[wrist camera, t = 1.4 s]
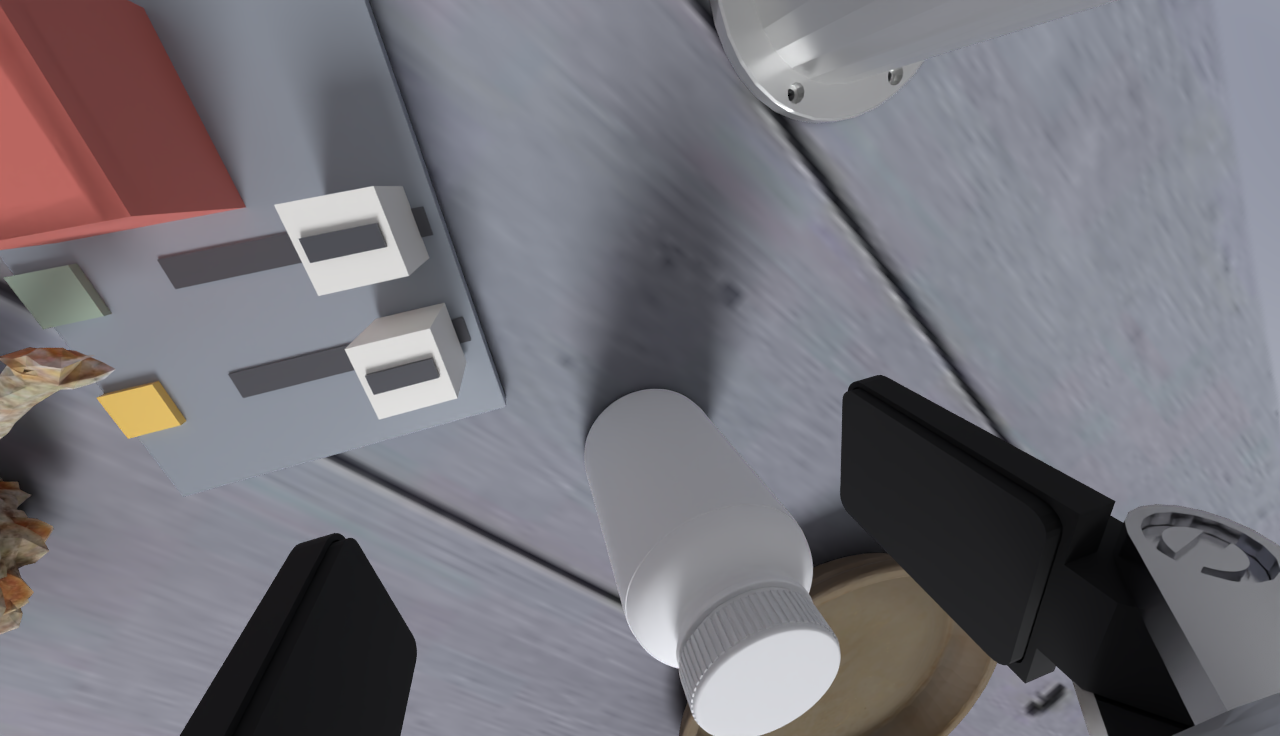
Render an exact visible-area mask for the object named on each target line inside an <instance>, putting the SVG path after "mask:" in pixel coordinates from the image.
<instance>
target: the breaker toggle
mask: <svg viewBox="0 0 1280 736" xmlns="http://www.w3.org/2000/svg"><path fill="white" fill-rule="evenodd" d="M345 351H346V353H347V355H348V357H349V359H350V362H351V364H352V366H353V368H354V370H355V372H356V374H357V376H358V378H359V380H360V382H361V384H362V386H363V388H364V390H365V392H366V394H367V396H368V398H369V400H370V402H371V404H372V406H373V408H374V411H375V413H376V415H377V417H378V419H379V420H380V419H383V418H387V417H391V416H394V415H398V414H402V413H405V412H409V411H413V410H416V409H420V408H424V407H428V406H431V405H435V404H439V403H442V402H446V401H450V400H453V399H457V398H458V395H459V391H460V387H461V382H462V378H463V374H464V370H465V366H466V362H467V361H466V359H465V356H464V353H463V351H462V348H461V345H460V343H459V340H458V337H457V335H456V332H455V329H454V327H453V324H452V321H451V318H450V316H449V313H448V310H447V308H446V305H445V303H440V304H436V305H432V306H428V307H423V308H419V309H415V310H411V311H406V312H402V313H398V314H394V315H389V316H385V317H381V318H377V319H375V320H374V321H373V322H372V323H371V324H370V325H369V326H368V327H367V328H366V329H365V330H364V331H363V332H362V333H361V334H360V335H359V336H357V337H356V338H355V339H354V340H353V341H352V342H351V343H350V344H349V345H348V346H347V347H346V348H345Z"/></svg>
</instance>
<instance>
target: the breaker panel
mask: <svg viewBox="0 0 1280 736" xmlns="http://www.w3.org/2000/svg"><path fill="white" fill-rule="evenodd" d="M128 1H131V2H133V3H135V4H137V5H139V6H141V7H143V8H144V10H145V12H146V14H147V16H148V18H149V20H150V21H151V23H152V25H153V27H154V29H155V31H156V33H157V35H158V37H159V39H160V41H161V43H162V45H163V47H164V49H165V51H166V53H167V54H168V56H169V58H170V60H171V62H172V64H173V66H174V68H175V70H176V72H177V74H178V76H179V78H180V80H181V82H182V84H183V86H184V88H185V89H186V91H187V93H188V95H189V97H190V99H191V101H192V103H193V105H194V107H195V109H196V111H197V113H198V115H199V117H200V119H201V121H202V122H203V124H204V126H205V128H206V130H207V132H208V134H209V136H210V138H211V140H212V142H213V144H214V146H215V148H216V150H217V152H218V154H219V156H220V157H221V159H222V161H223V163H224V165H225V167H226V169H227V171H228V173H229V175H230V177H231V179H232V181H233V183H234V185H235V187H236V189H237V190H238V192H239V194H240V196H241V198H242V200H243V202H244V204H245V206H246V208H240V209H235V210H230V211H224V212H219V213H214V214H208V215H203V216H198V217H192V218H187V219H182V220H176V221H171V222H166V223H160V224H155V225H150V226H145V227H139V228H134V229H129V230H123V231H118V232H113V233H107V234H102V235H97V236H91V237H86V238H81V239H75V240H70V241H65V242H59V243H53V244H45V245H37V246H29V247H21V248H13V249H5V250H0V258H1V259H2V260H3V262H4V263H5V264H6V266H7V267H8V268H9V269H10V271H11V272H12V273H13V275H14V276H10V277H4V279H5V280H6V282H7V283H8V284H9V286H10V287H11V288H12V289H13V291H14V292H15V293H16V295H17V296H18V297H19V299H20V300H21V301H22V302H23V304H24V305H25V306H26V308H27V309H28V310H29V311H30V313H31V314H32V315H33V317H34V318H35V319H36V320H37V322H38V323H39V324H40V326H41V327H42V328H43V329H47V328H51V327H54V328H55V330H56V331H57V332H58V334H59V335H60V336H61V338H62V339H63V340H64V342H65V343H66V344H67V346H68V347H69V348H70V349H71V350H74V351H77V352H80V353H82V354H84V355H87V356H89V355H94V356H92V358H94V359H96V360H99V361H101V362H103V363H105V364H107V365H109V366H111V367H113V368H115V370H114V371H113V372H112V373H111V374H110V375H109V376H107V377H106V378H105V379H103V380H101V381H98V382H96V384H97V385H98V386H99V387H100V389H101V390H102V391H103V393H104V394H103V395H101V396H99V397H97V399H98V401H99V402H100V403H101V404H102V406H103V407H104V408H105V410H106V411H107V412H108V413H109V415H110V416H111V417H112V419H113V420H114V421H115V423H116V424H117V425H118V426H119V428H120V429H121V430H122V432H123V433H124V434H125V435H126V437H127V438H128V439H129V438H133V437H138V439H139V440H140V441H141V443H142V444H143V445H144V446H145V448H146V449H147V450H148V452H149V453H150V454H151V456H152V457H153V458H154V460H155V461H156V462H157V464H158V465H159V466H160V467H161V469H162V470H163V471H164V473H165V474H166V475H167V477H168V478H169V479H170V481H171V482H172V483H173V484H174V486H175V487H176V488H177V490H178V491H179V492H180V494H181V495H182V496H183V497H185V496H189V495H192V494H196V493H199V492H203V491H207V490H210V489H214V488H217V487H221V486H224V485H228V484H232V483H235V482H239V481H242V480H246V479H249V478H253V477H257V476H260V475H264V474H267V473H271V472H274V471H278V470H282V469H285V468H289V467H292V466H296V465H299V464H303V463H307V462H310V461H314V460H317V459H321V458H324V457H328V456H332V455H335V454H339V453H342V452H346V451H349V450H353V449H357V448H360V447H364V446H367V445H371V444H374V443H378V442H382V441H385V440H389V439H392V438H396V437H399V436H403V435H407V434H410V433H414V432H417V431H421V430H424V429H428V428H432V427H435V426H439V425H442V424H446V423H449V422H453V421H457V420H460V419H464V418H467V417H471V416H474V415H478V414H482V413H485V412H489V411H492V410H496V409H500V408H503V407H506V397H505V394H504V391H503V388H502V385H501V382H500V379H499V376H498V374H497V371H496V368H495V365H494V362H493V359H492V356H491V353H490V350H489V348H488V345H487V342H486V339H485V336H484V333H483V330H482V327H481V324H480V321H479V319H478V316H477V313H476V310H475V307H474V304H473V301H472V298H471V295H470V293H469V290H468V287H467V284H466V281H465V278H464V275H463V272H462V269H461V266H460V264H459V261H458V258H457V255H456V252H455V249H454V246H453V243H452V240H451V238H450V235H449V232H448V229H447V226H446V223H445V220H444V217H443V214H442V211H441V209H440V206H439V203H438V200H437V197H436V194H435V191H434V188H433V185H432V183H431V180H430V177H429V174H428V171H427V168H426V165H425V162H424V159H423V156H422V154H421V151H420V148H419V145H418V142H417V139H416V136H415V133H414V130H413V128H412V125H411V122H410V119H409V116H408V113H407V110H406V107H405V104H404V101H403V99H402V96H401V93H400V90H399V87H398V84H397V81H396V78H395V75H394V73H393V70H392V67H391V64H390V61H389V58H388V55H387V52H386V49H385V46H384V44H383V41H382V38H381V35H380V32H379V29H378V26H377V23H376V20H375V18H374V15H373V12H372V9H371V6H370V3H369V0H128ZM440 303H445V305H446V308H447V310H448V313H449V316H450V318H451V321H452V324H453V327H454V329H455V332H456V335H457V337H458V340H459V343H460V345H461V348H462V351H463V353H464V356H465V359H466V361H467V362H466V366H465V370H464V374H463V378H462V382H461V387H460V391H459V395H458V398H457V399H453V400H450V401H446V402H442V403H439V404H435V405H431V406H428V407H424V408H420V409H416V410H413V411H409V412H405V413H402V414H398V415H394V416H391V417H387V418H383V419H380V420H379V419H378V417H377V415H376V413H375V411H374V408H373V406H372V404H371V402H370V400H369V398H368V396H367V394H366V392H365V390H364V388H363V386H362V384H361V382H360V380H359V378H358V376H357V374H356V372H355V370H354V368H353V366H352V364H351V362H350V359H349V357H348V355H347V353H346V351H345V348H346V347H347V346H348V345H349V344H350V343H351V342H352V341H353V340H354V339H355V338H356V337H357V336H359V335H360V334H361V333H362V332H363V331H364V330H365V329H366V328H367V327H368V326H369V325H370V324H371V323H372V322H373V321H374V320H375V319H377V318H381V317H385V316H389V315H394V314H398V313H402V312H406V311H411V310H415V309H419V308H423V307H428V306H432V305H436V304H440Z"/></svg>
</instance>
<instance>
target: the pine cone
mask: <svg viewBox="0 0 1280 736" xmlns="http://www.w3.org/2000/svg"><path fill="white" fill-rule="evenodd" d="M92 356H94V355H89V356H87V355H84V354H82V353H80V352H77V351H74V350H66V349H64V348H31V347H29V348H26V349H23V350H19V351H16V352H13V353H10V354H6V355H3V356H0V361H2V362H3V363H4V364H6V365H7V366H6V367H5V369H4V370H3V371H2V373H1V374H0V439H1V438H2V437H4V436H5V435H6V434H8V433H9V431H10V430H11V428H12V427H13V426H14V424H15V423H16V422H17V421H18V420H19V419H20V418H21V417H22V416H23V415H25V414H26V413H27V412H28V411H29V410H30V409H31V408H32V407H33V406H35V405H36V404H38V403H39V402H41V401H42V400H44V399H45V398H47V397H49V396H50V395H52V394H54V393H55V392H57V391H59V390H61V389H75V388H79V387H82V386H86V385H89V384H92V383H96V382H98V381H101V380H103V379H105V378H106V377H107V376H109V375H110V374H111V373H112V372H113V371H114V370H115V368H113V367H111V366H109V365H107V364H105V363H103V362H101V361H99V360H96V359H94V358H92ZM30 496H31V495H30V494H28V493H26V492H24V491H22V490H20V489H19V484H18V482H3V480H2V479H1V478H0V634H3V633H5V632H8V631H11V630H13V629H16V628H19V626H20V622H21V618H22V614H23V613H22V611H21V607H23V606H24V605H26V604H27V603H29V601H28V598H29V597H30V596H31V595H32V594H33V593H34V592H33V591H32V590H31V588H30V587H29V586H28V585H27V584H26V583H25V582H24V580H23V579H22V578H21V576H20V573H19V570H18V568H20V567H22V566H24V565H28V564H33V563H35V562H37V561H38V560H39V559H40V558H41V557H43V556H44V555H45V554H46V553H47V552H49V550H48V548H47V546H46V544H45V542H46V540H47V539H48V537H49V536H50V534H51V533H52V531H53V530H54V528H53V526H51V525H49V524H47V523H45V522H43V521H41V520H39V519H35V518H28V517H27V515H26V514H25V512H24V511H22V510H17V507H18V506H19V505H20V504H22V503H23V502H24V501H25V500H26V499H27V498H29V497H30Z"/></svg>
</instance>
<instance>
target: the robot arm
mask: <svg viewBox="0 0 1280 736" xmlns="http://www.w3.org/2000/svg"><path fill="white" fill-rule="evenodd" d="M1115 1H1118V0H710V4H711V8H712V13H713V18H714V23H715V27H716V30H717V32H718V35H719V38H720V40H721V43H722V46H723V49H724V51H725V54H726V56H727V57H728V59H729V61H730V63H731V64H732V66H733V68H734V70H735V71H736V73H737V75H738V77H739V78H740V79H741V81H742V82H743V83H744V84H745V85H746V86H747V88H748V89H749V90H750V91H751V92H752V93H753V95H754V96H755V97H756V98H758V99H759V100H760V101H761V102H763V103H764V104H765V105H767V106H768V107H769V108H771V109H772V110H773V111H775V112H777V113H779V114H782V115H784V116H786V117H788V118H791V119H793V120H797V121H803V122H809V123H827V122H836V121H841V120H845V119H849V118H854V117H857V116H859V115H861V114H864V113H866V112H868V111H870V110H873V109H875V108H877V107H878V106H880V105H881V104H882V103H884V102H885V101H887V100H888V99H889V98H891V97H892V96H894V95H895V94H896V93H897V92H898V91H899V90H900V89H901V88H902V87H903V86H904V85H905V84H906V83H907V82H908V81H909V80H910V79H911V78H912V77H913V76H914V75H915V73H916V72H917V70H918V69H919V68H920V66H921V65H922V64H923V62H924V61H925V60H926V59H929V58H932V57H935V56H939V55H942V54H945V53H948V52H952V51H955V50H958V49H961V48H965V47H968V46H971V45H974V44H978V43H981V42H984V41H988V40H991V39H994V38H997V37H1001V36H1004V35H1007V34H1010V33H1014V32H1017V31H1020V30H1023V29H1027V28H1030V27H1033V26H1037V25H1040V24H1043V23H1046V22H1050V21H1053V20H1056V19H1059V18H1063V17H1066V16H1069V15H1072V14H1076V13H1079V12H1082V11H1085V10H1089V9H1092V8H1095V7H1099V6H1102V5H1105V4H1108V3H1112V2H1115ZM788 93H789V98H788ZM840 496H841V501H842V504H843V506H844V508H845V509H846V511H847V512H848V513H849V514H850V515H851V516H852V517H853V518H854V519H855V520H856V521H857V522H858V523H859V525H860V526H861V527H862V528H863V529H864V530H865V531H866V532H867V533H868V534H869V535H870V536H871V537H872V538H873V539H874V540H875V541H876V542H877V543H878V544H879V545H880V546H881V547H882V548H883V549H884V550H885V551H886V552H887V553H888V554H889V555H890V556H891V557H892V558H893V559H894V560H895V561H896V562H897V563H898V564H899V565H900V566H901V567H902V568H903V569H904V570H905V571H906V572H907V573H908V574H909V575H910V576H911V577H912V578H913V579H914V581H915V582H916V583H917V584H918V585H919V586H920V587H921V588H922V589H923V590H924V591H925V592H926V593H927V594H928V595H929V596H930V597H931V598H932V599H933V600H934V601H935V602H936V603H937V604H938V605H939V606H940V607H941V608H942V609H943V610H944V611H945V612H946V613H947V614H948V615H949V616H950V617H951V618H952V619H953V620H954V621H955V622H956V623H957V624H958V625H959V626H960V627H961V628H962V629H963V630H964V631H965V632H966V633H967V634H968V636H969V637H970V638H971V639H972V640H973V641H974V642H975V643H976V644H977V645H978V646H979V647H980V648H981V649H982V650H983V651H984V652H985V653H986V654H987V655H988V656H989V657H991V658H992V659H993V660H994V661H996V662H997V663H999V664H1002V665H1007V666H1008V667H1009V668H1010V669H1011V670H1012V671H1013V672H1014V673H1015V674H1016V675H1017V676H1018V677H1019V678H1020V679H1021V680H1022V681H1023V682H1024V683H1027V682H1030V681H1032V680H1034V679H1037V678H1039V677H1041V676H1044V675H1046V674H1048V673H1050V672H1053V671H1054V669H1055V667H1056V666H1057V667H1058V668H1059V669H1060V670H1061V671H1062V672H1063V673H1065V674H1066V675H1067V676H1068V677H1069V678H1070V679H1071V680H1072V682H1073V685H1074V688H1075V691H1076V694H1077V697H1078V700H1079V704H1080V707H1081V710H1082V713H1083V716H1084V719H1085V722H1086V726H1087V729H1088V732H1089V735H1090V736H1280V546H1278V545H1277V544H1276V543H1274V542H1273V541H1271V540H1269V539H1268V538H1266V537H1264V536H1263V535H1261V534H1259V533H1258V532H1256V531H1255V530H1253V529H1250V528H1248V527H1246V526H1243V525H1241V524H1239V523H1237V522H1234V521H1232V520H1230V519H1227V518H1224V517H1221V516H1218V515H1215V514H1212V513H1209V512H1206V511H1202V510H1198V509H1192V508H1187V507H1182V506H1177V505H1161V504H1154V505H1147V506H1140V507H1138V508H1136V509H1134V510H1132V511H1130V512H1128V514H1127V517H1126V519H1125V521H1124V523H1122V522H1121V521H1119V520H1117V519H1115V518H1114V517H1112V516H1110V515H1111V512H1112V509H1113V506H1114V504H1115V501H1114V500H1112V499H1110V498H1108V497H1106V496H1105V495H1103V494H1101V493H1099V492H1097V491H1095V490H1094V489H1092V488H1090V487H1088V486H1086V485H1084V484H1082V483H1081V482H1079V481H1077V480H1075V479H1073V478H1071V477H1070V476H1068V475H1066V474H1064V473H1062V472H1060V471H1059V470H1057V469H1055V468H1053V467H1051V466H1049V465H1048V464H1046V463H1044V462H1042V461H1040V460H1038V459H1036V458H1035V457H1033V456H1031V455H1029V454H1027V453H1025V452H1024V451H1022V450H1020V449H1018V448H1016V447H1014V446H1013V445H1011V444H1009V443H1007V442H1005V441H1003V440H1002V439H1000V438H998V437H996V436H994V435H992V434H990V433H989V432H987V431H985V430H983V429H981V428H979V427H978V426H976V425H974V424H972V423H970V422H968V421H967V420H965V419H963V418H961V417H959V416H957V415H956V414H954V413H952V412H950V411H948V410H946V409H944V408H943V407H941V406H939V405H937V404H935V403H933V402H932V401H930V400H928V399H926V398H924V397H922V396H921V395H919V394H917V393H915V392H913V391H911V390H910V389H908V388H906V387H904V386H902V385H900V384H899V383H897V382H895V381H893V380H891V379H889V378H887V377H885V376H882V375H877V376H873V377H870V378H866V379H863V380H859V381H856V382H853V383H852V384H850V386H849V388H848V392H846V393H845V394H844V396H843V406H842V446H841V486H840ZM416 657H417V648H416V642H415V639H414V637H413V635H412V633H411V631H410V630H409V628H408V626H407V625H406V623H405V621H404V620H403V618H402V616H401V615H400V613H399V611H398V610H397V608H396V606H395V605H394V603H393V601H392V600H391V598H390V596H389V594H388V593H387V591H386V589H385V588H384V586H383V584H382V583H381V581H380V579H379V578H378V576H377V574H376V573H375V571H374V569H373V568H372V566H371V564H370V563H369V561H368V559H367V558H366V556H365V554H364V552H363V551H362V549H361V547H360V546H359V544H358V543H357V541H356V540H355V539H353V538H347V539H345V537H344V536H343V535H341V534H339V533H334V534H330V535H327V536H323V537H320V538H317V539H313V540H310V541H306V542H303V543H300V544H298V545H296V546H295V547H294V548H293V550H292V551H291V553H290V554H289V556H288V558H287V559H286V561H285V562H284V564H283V566H282V567H281V569H280V571H279V572H278V574H277V576H276V577H275V579H274V581H273V582H272V584H271V586H270V587H269V589H268V591H267V592H266V594H265V596H264V597H263V599H262V601H261V602H260V604H259V605H258V607H257V609H256V610H255V612H254V614H253V615H252V617H251V619H250V620H249V622H248V624H247V625H246V627H245V629H244V630H243V632H242V634H241V635H240V637H239V639H238V640H237V642H236V644H235V645H234V647H233V648H232V650H231V652H230V653H229V655H228V657H227V658H226V660H225V662H224V663H223V665H222V667H221V668H220V670H219V672H218V673H217V675H216V677H215V678H214V680H213V682H212V683H211V685H210V687H209V688H208V690H207V691H206V693H205V695H204V696H203V698H202V700H201V701H200V703H199V705H198V706H197V708H196V710H195V711H194V713H193V715H192V716H191V718H190V720H189V721H188V723H187V725H186V726H185V728H184V730H183V731H182V733H181V734H180V736H400V735H401V730H402V725H403V721H404V716H405V711H406V706H407V701H408V697H409V692H410V687H411V682H412V678H413V673H414V668H415V663H416Z"/></svg>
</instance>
